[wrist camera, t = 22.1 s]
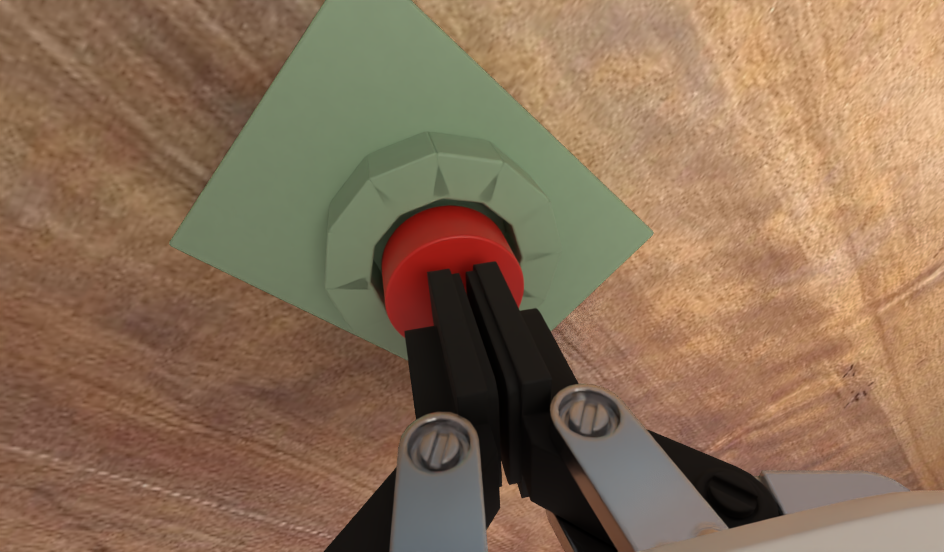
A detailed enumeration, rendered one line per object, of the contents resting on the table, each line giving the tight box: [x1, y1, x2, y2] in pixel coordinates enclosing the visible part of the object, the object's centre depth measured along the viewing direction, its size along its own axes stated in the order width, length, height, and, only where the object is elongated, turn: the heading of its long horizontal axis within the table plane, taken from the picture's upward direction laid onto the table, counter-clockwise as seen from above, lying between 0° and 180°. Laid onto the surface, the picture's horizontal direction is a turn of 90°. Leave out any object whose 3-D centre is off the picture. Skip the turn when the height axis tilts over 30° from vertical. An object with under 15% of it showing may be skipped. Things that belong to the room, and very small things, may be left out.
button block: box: [170, 0, 654, 360], centre depth 15 cm, size 12×9×4 cm
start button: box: [381, 205, 524, 338], centre depth 13 cm, size 4×4×2 cm
